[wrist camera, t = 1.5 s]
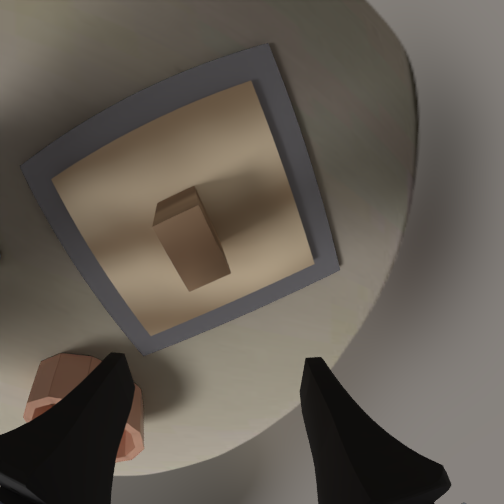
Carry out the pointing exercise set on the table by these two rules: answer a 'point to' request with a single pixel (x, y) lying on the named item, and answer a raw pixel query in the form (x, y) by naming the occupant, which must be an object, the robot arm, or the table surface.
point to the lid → (189, 209)
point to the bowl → (65, 380)
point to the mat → (150, 108)
